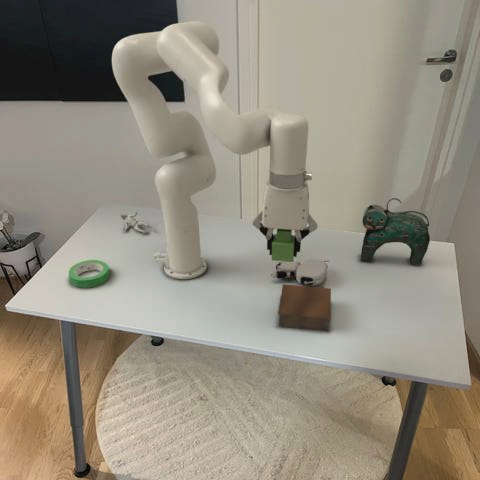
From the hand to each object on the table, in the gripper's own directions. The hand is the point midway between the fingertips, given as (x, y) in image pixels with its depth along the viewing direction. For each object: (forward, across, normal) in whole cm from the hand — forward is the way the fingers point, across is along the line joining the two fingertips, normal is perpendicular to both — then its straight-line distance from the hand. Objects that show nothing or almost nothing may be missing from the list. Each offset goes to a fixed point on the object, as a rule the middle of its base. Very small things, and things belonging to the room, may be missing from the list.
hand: (283, 252), depth 109 cm
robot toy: (+18, -4, -17) cm, 25 cm away
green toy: (+1, 0, 0) cm, 1 cm away
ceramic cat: (+18, -30, -32) cm, 47 cm away
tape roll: (+17, +56, -8) cm, 59 cm away
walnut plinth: (+18, -6, 0) cm, 19 cm away
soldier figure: (+17, +53, -39) cm, 68 cm away
